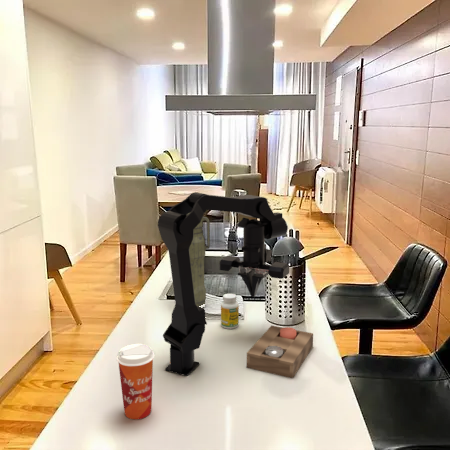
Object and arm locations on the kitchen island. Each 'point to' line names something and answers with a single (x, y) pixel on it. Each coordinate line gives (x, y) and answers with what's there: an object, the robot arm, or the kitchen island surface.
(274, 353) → the grey plunger
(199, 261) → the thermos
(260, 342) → the press box
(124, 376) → the paper cup
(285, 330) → the pink round plug
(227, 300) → the supplement bottle
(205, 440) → the kitchen island surface
